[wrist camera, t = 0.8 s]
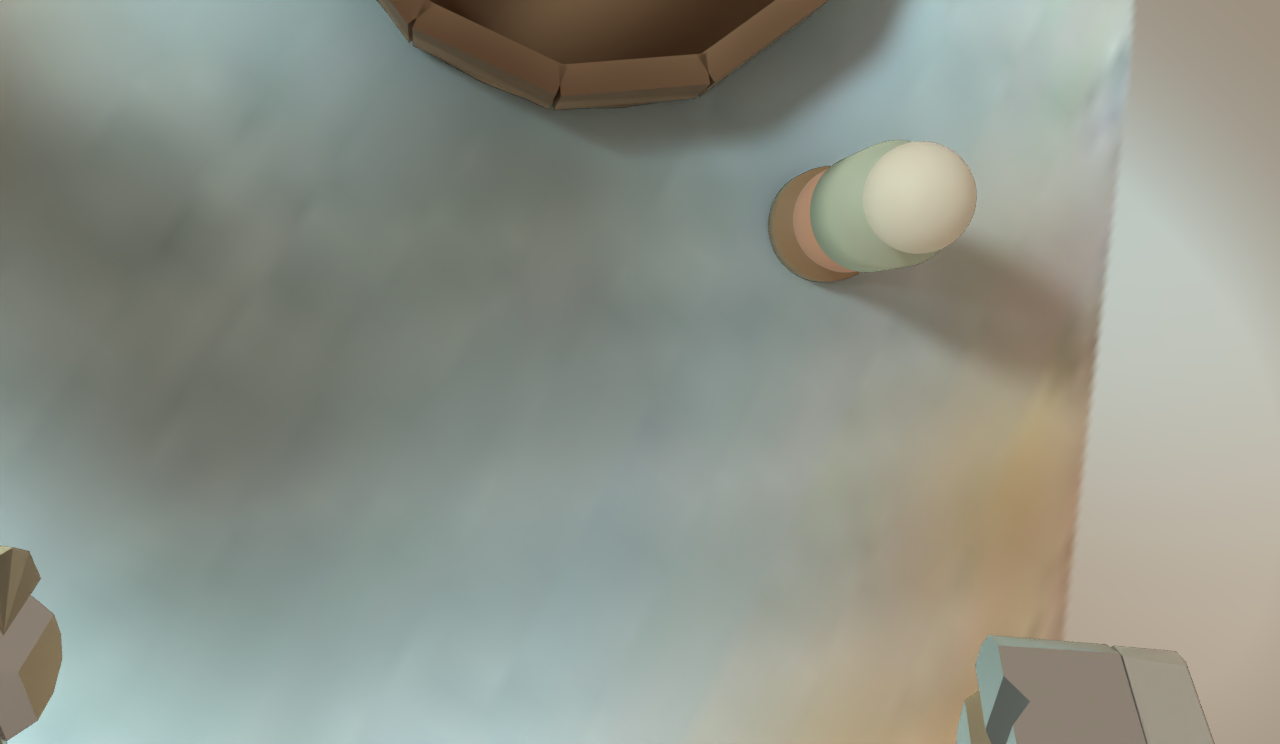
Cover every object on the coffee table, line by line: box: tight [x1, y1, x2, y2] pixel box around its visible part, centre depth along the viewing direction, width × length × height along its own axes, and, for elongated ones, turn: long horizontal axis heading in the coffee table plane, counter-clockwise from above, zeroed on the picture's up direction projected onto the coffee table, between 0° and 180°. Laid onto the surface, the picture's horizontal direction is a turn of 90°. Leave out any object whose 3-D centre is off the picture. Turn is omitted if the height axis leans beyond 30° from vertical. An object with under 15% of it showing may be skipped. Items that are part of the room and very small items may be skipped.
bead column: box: [768, 140, 977, 282], centre depth 39 cm, size 4×4×10 cm
